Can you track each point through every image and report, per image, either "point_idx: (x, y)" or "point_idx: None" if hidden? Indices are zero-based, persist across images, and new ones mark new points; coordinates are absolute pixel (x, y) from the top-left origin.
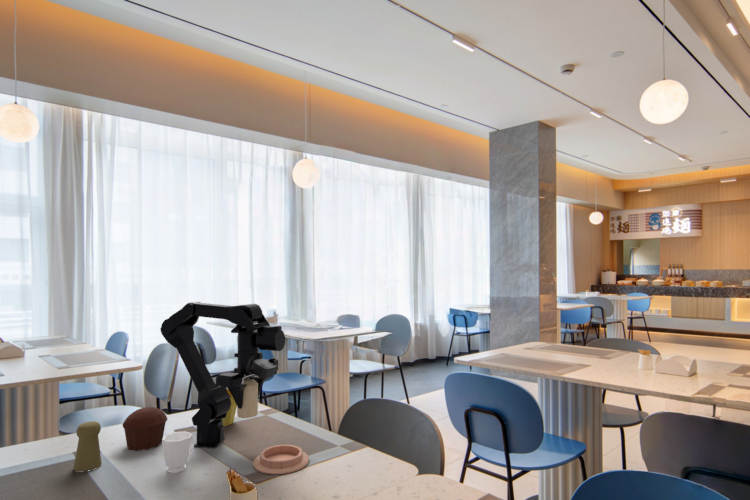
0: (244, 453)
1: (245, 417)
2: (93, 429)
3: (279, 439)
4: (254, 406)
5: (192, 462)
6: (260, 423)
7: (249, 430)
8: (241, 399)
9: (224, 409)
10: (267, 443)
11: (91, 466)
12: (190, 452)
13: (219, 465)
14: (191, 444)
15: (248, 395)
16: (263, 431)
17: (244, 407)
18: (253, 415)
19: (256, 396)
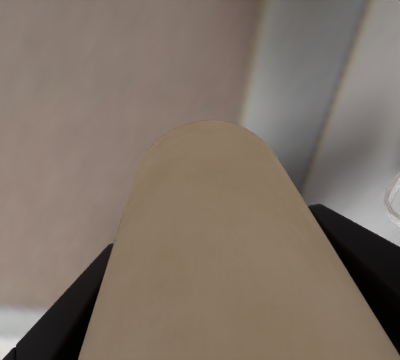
0: (235, 79)
1: (266, 144)
2: None
3: (37, 89)
4: (206, 155)
5: (387, 156)
6: (33, 266)
7: (95, 243)
8: (395, 256)
9: None
10: (104, 93)
11: None
12: (390, 190)
13: (373, 54)
14: (393, 212)
15: (327, 270)
16: (57, 206)
17: (297, 192)
18: (210, 123)
19: (169, 232)
